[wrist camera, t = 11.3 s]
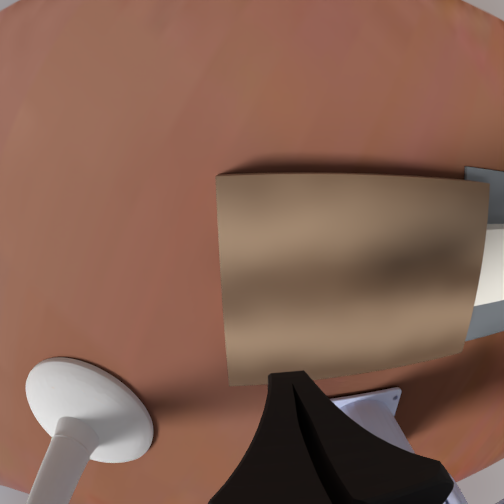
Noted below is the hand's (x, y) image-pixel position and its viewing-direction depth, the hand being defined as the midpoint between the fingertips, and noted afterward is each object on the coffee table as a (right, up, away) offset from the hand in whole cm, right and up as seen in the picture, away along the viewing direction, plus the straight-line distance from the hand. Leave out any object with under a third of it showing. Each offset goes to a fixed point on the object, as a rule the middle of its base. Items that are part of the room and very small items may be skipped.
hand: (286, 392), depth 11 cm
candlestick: (-16, -9, +13) cm, 23 cm away
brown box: (+6, +4, +10) cm, 12 cm away
